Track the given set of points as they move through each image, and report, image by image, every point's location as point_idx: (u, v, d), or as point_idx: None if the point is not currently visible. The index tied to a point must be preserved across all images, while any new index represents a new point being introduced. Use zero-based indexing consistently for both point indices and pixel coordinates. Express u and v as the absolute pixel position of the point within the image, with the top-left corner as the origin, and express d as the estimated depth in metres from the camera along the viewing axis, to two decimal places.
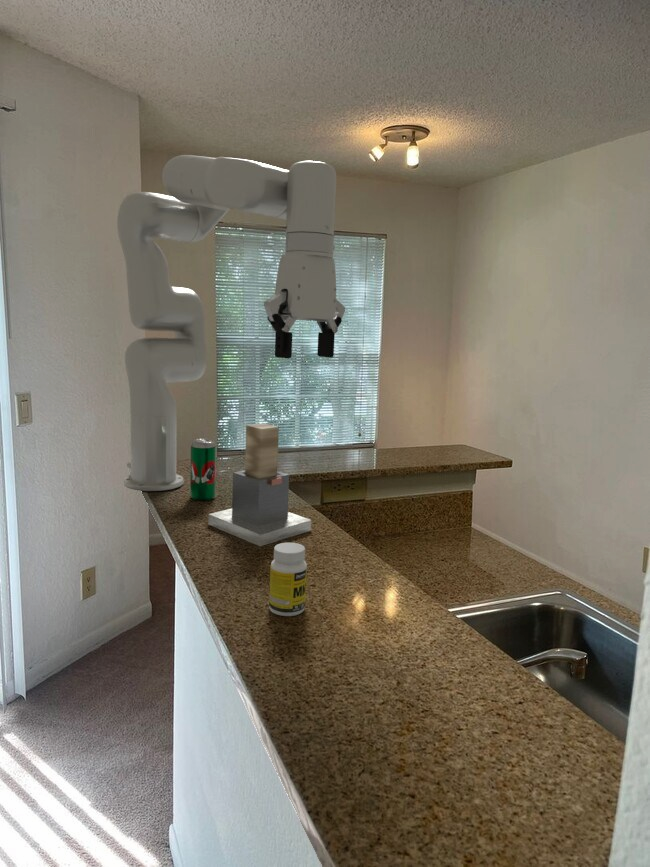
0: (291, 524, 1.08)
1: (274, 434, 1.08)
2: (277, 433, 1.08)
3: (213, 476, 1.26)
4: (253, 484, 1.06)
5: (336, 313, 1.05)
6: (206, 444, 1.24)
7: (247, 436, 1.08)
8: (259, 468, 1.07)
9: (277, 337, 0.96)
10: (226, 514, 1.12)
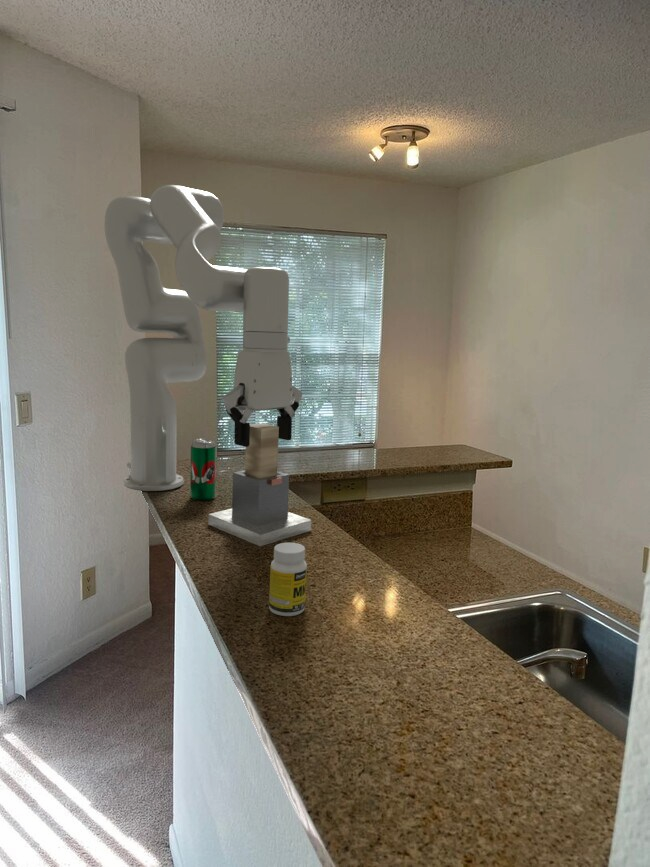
0: (291, 524, 1.08)
1: (274, 434, 1.08)
2: (277, 433, 1.08)
3: (213, 476, 1.26)
4: (253, 484, 1.06)
5: (293, 398, 1.12)
6: (206, 444, 1.24)
7: None
8: (259, 468, 1.07)
9: (236, 427, 1.04)
10: (226, 514, 1.12)
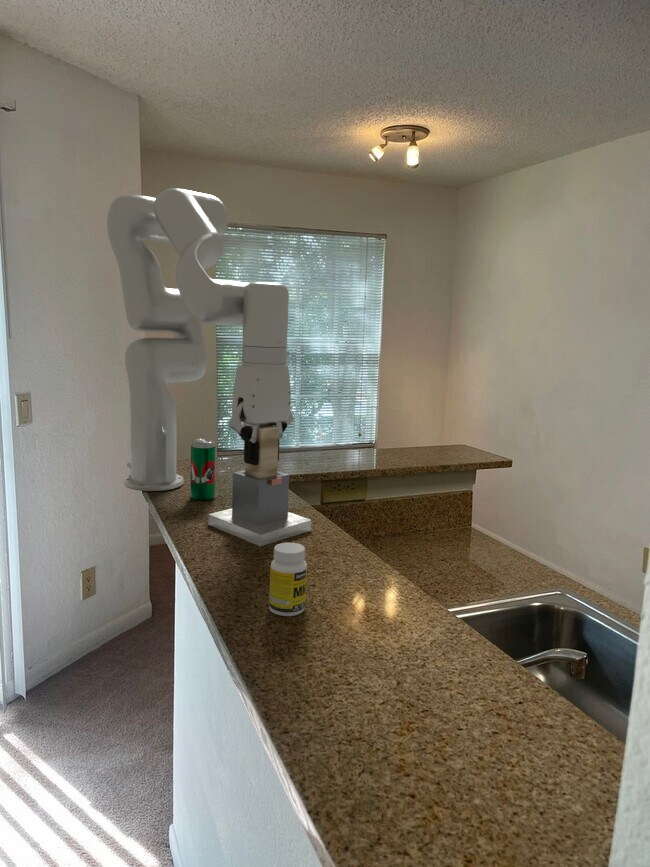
0: (291, 524, 1.08)
1: (274, 434, 1.08)
2: (277, 433, 1.08)
3: (213, 476, 1.26)
4: (253, 484, 1.06)
5: None
6: (206, 444, 1.24)
7: None
8: (259, 468, 1.07)
9: (245, 446, 1.07)
10: (226, 514, 1.12)
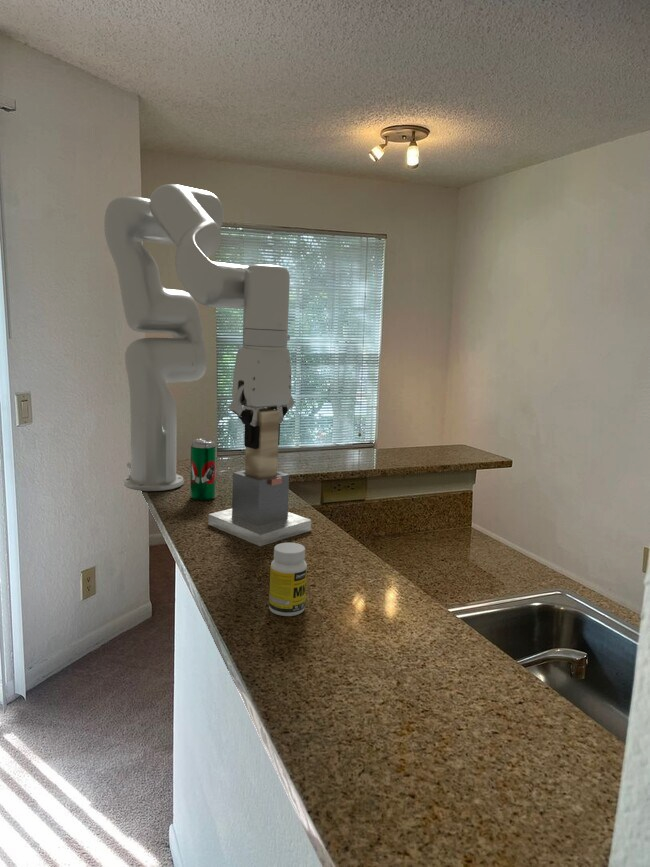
0: (291, 524, 1.08)
1: (275, 418, 1.07)
2: (278, 417, 1.08)
3: (213, 476, 1.26)
4: (253, 484, 1.06)
5: None
6: (206, 444, 1.24)
7: None
8: (259, 452, 1.06)
9: (246, 430, 1.06)
10: (226, 514, 1.12)
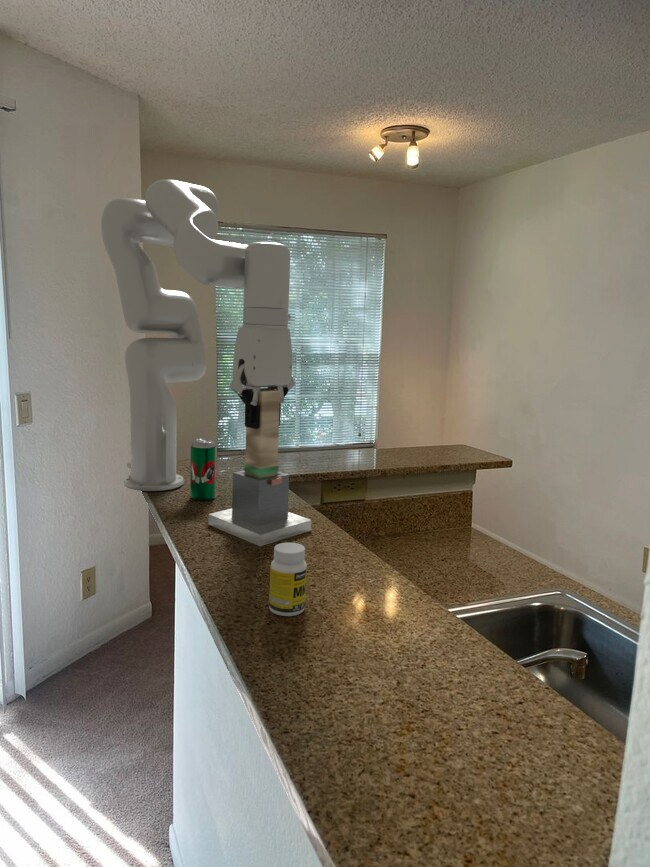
0: (291, 524, 1.08)
1: (276, 398, 1.07)
2: (278, 397, 1.07)
3: (213, 476, 1.26)
4: (253, 484, 1.06)
5: None
6: (206, 444, 1.24)
7: None
8: (260, 432, 1.06)
9: (246, 409, 1.05)
10: (226, 514, 1.12)
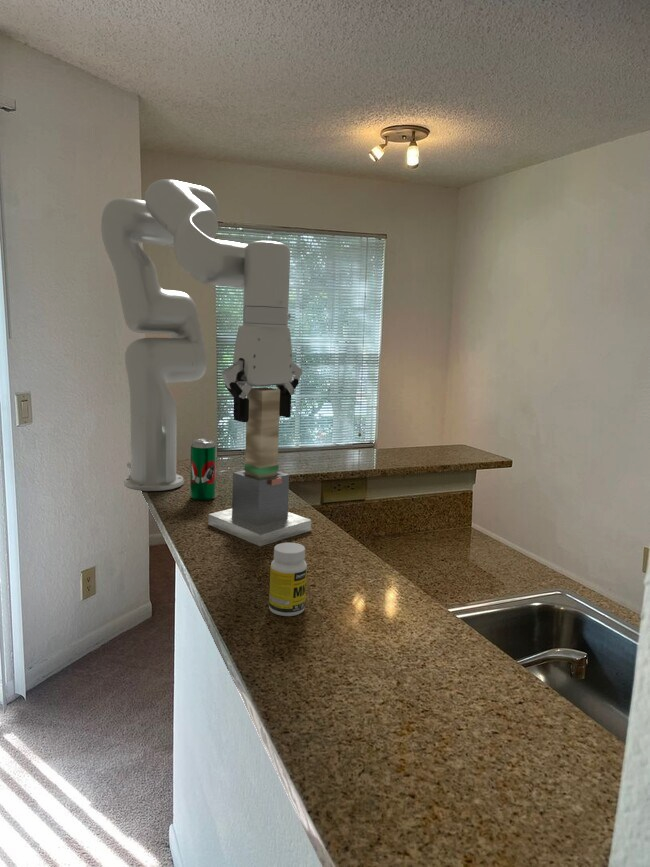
0: (291, 524, 1.08)
1: (276, 397, 1.07)
2: (278, 396, 1.07)
3: (213, 476, 1.26)
4: (253, 484, 1.06)
5: (293, 375, 1.12)
6: (206, 444, 1.24)
7: None
8: (260, 431, 1.06)
9: (235, 402, 1.03)
10: (226, 514, 1.12)
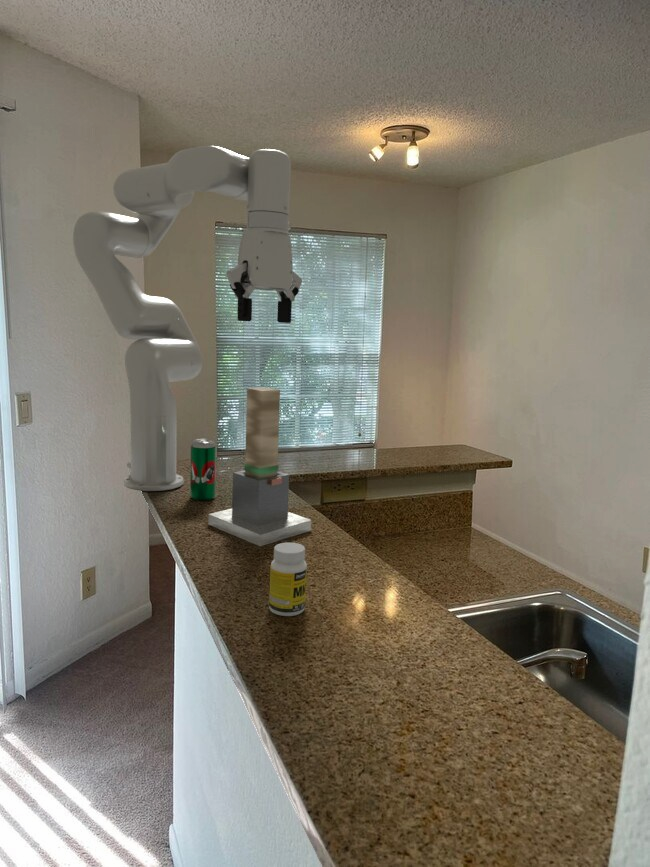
0: (291, 524, 1.08)
1: (276, 397, 1.07)
2: (278, 396, 1.07)
3: (213, 476, 1.26)
4: (253, 484, 1.06)
5: (294, 284, 1.19)
6: (206, 444, 1.24)
7: (248, 399, 1.07)
8: (260, 431, 1.06)
9: (239, 303, 1.11)
10: (226, 514, 1.12)
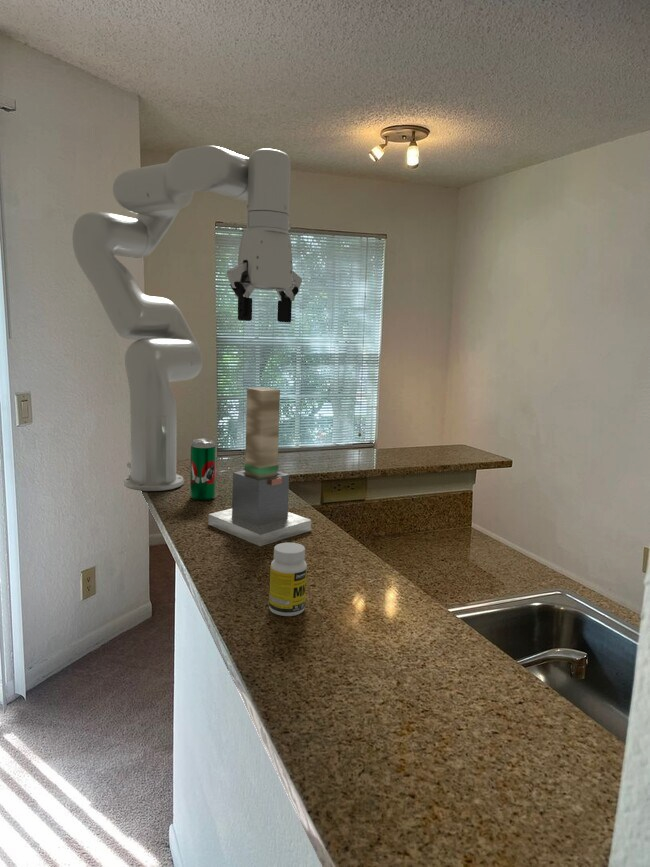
0: (291, 524, 1.08)
1: (276, 397, 1.07)
2: (278, 396, 1.07)
3: (213, 476, 1.26)
4: (253, 484, 1.06)
5: (294, 283, 1.19)
6: (206, 444, 1.24)
7: (248, 399, 1.07)
8: (260, 431, 1.06)
9: (239, 302, 1.11)
10: (226, 514, 1.12)
